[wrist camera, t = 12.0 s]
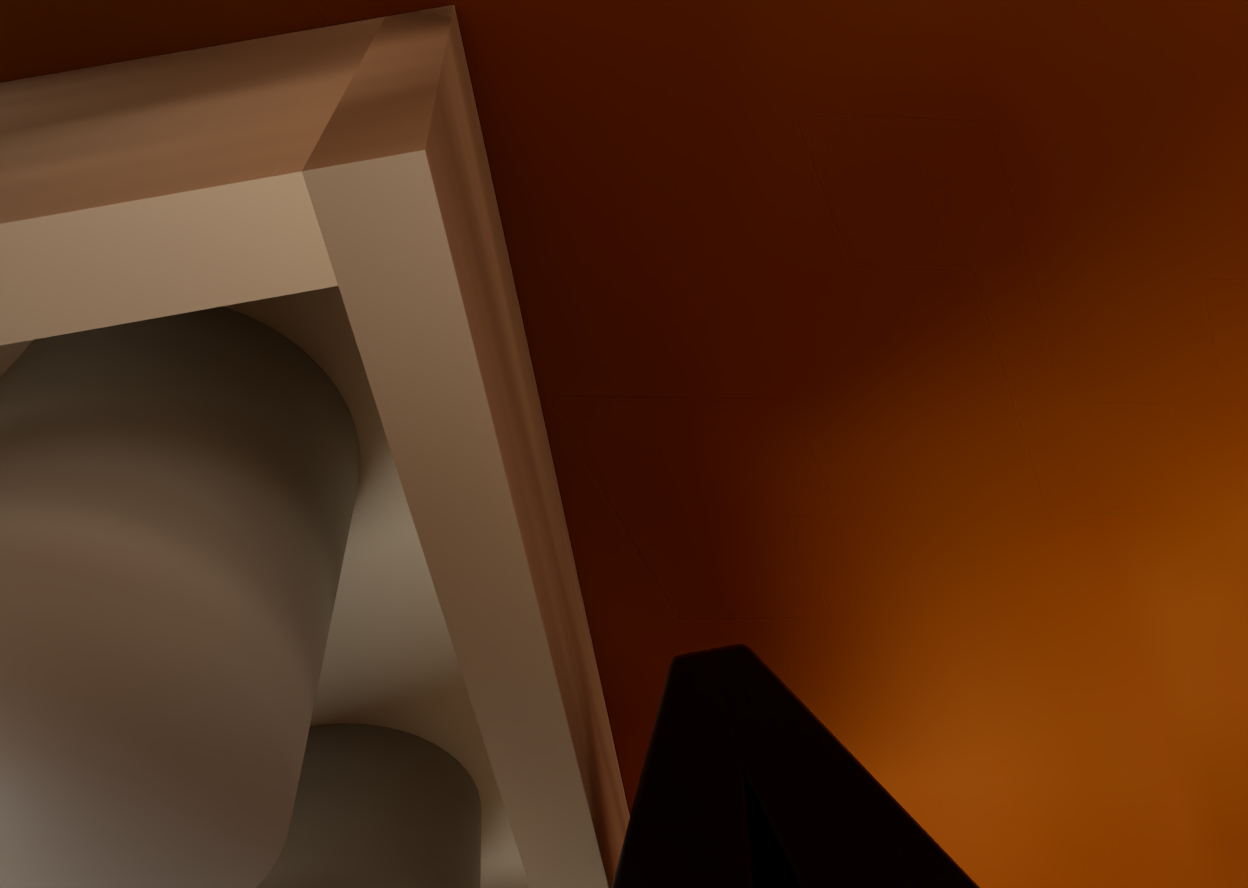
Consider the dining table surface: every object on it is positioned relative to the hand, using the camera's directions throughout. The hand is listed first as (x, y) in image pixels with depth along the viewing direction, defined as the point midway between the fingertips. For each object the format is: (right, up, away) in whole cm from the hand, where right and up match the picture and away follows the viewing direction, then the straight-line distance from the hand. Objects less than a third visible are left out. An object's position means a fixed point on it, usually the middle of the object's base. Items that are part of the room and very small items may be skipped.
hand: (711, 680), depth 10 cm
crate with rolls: (-5, 0, +2) cm, 5 cm away
